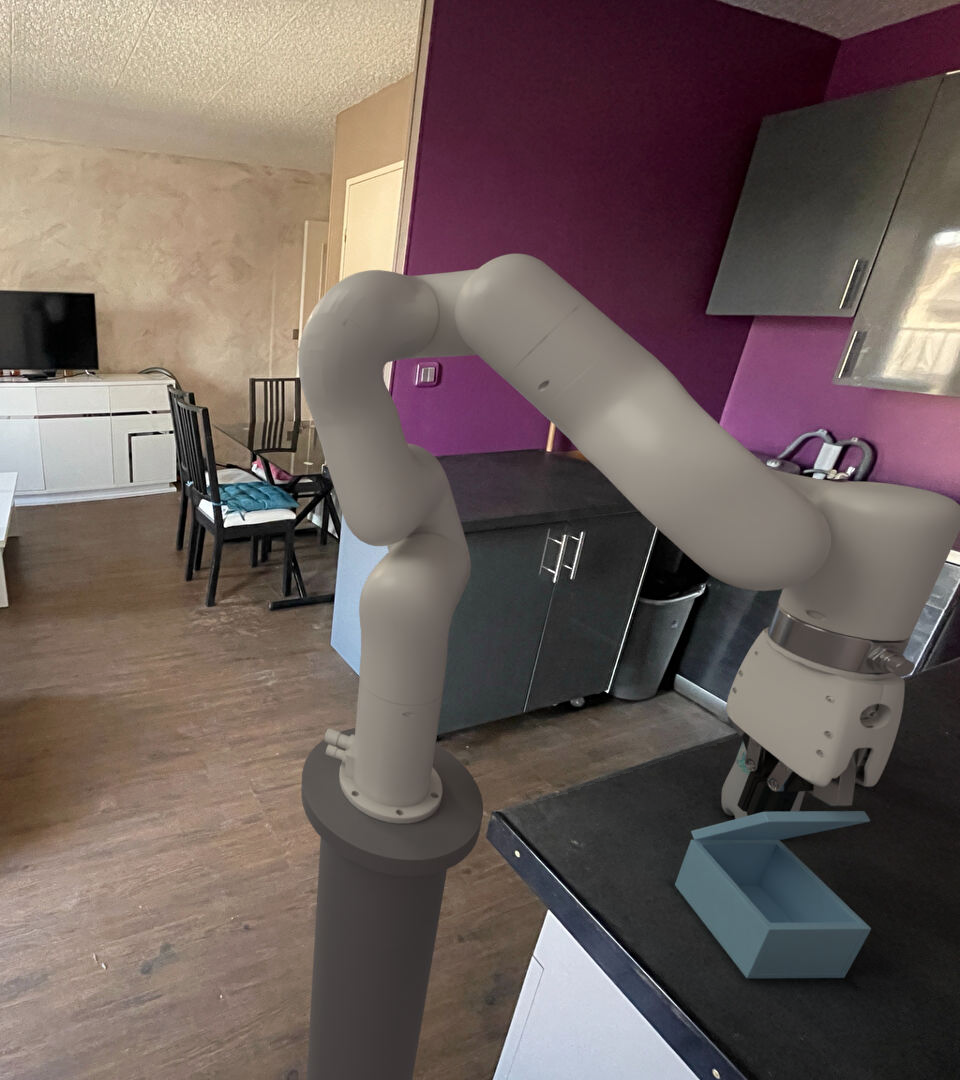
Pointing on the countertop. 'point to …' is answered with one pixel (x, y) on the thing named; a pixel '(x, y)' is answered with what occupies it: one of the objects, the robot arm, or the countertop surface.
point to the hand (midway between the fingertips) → (760, 813)
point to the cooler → (770, 910)
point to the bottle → (736, 784)
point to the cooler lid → (779, 825)
